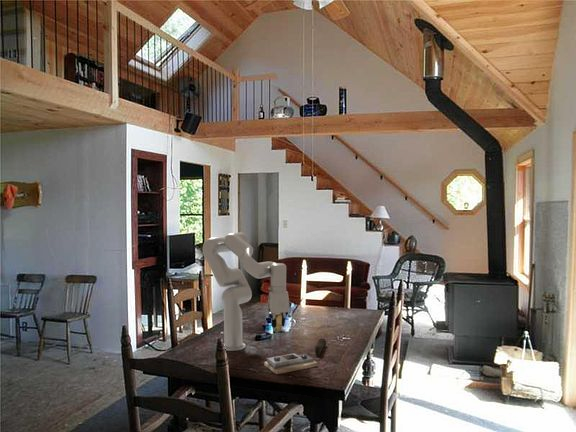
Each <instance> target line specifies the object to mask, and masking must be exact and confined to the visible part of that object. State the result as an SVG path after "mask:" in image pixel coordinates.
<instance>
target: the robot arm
mask: <svg viewBox="0 0 576 432" xmlns="http://www.w3.org/2000/svg"><path fill="white" fill-rule="evenodd" d="M249 243H250V239H249V236H248V235H247V234H246V233H244V232H231V233H228V234H226V235H225V236H215V237H214V236H213V237H210V238H207V239H205V241H204V243H203V244H202V256H203V257H204V259H205V261H206V263H207V264H208V266H209V268H210V271H211V272H212V275H213V276H214V278H215V281H216V283H217V284H218V286H219V287H221V288H226V289H225V290H223V292H222V294H221V301H222V307H223V334H224V335H223V337H224V339H223V342H224V343H223V344H224V346H225V349H226V350H225V351H227V352H234V351H235V352H237V351H242V350H245V348H246V343H244V342H243V311H242V308H241V307H240V305H242V304H245V303H248V302H249V301H251V299H252V296H253V294H252V293H253V292H252V288H251V286H250V284H249V282H248V280H247V278H246V276H245V275H244V272H243V271H242V270H241V269H239V268H237V267H229V266H228V265H227V263H226V261H225V258H224V257H222V256H221V255H220V254H219V253H225V252H226V253H227V252H231V253H233V254H234V255H235V256H236V257H237V258H239V259H240V261H241V265H242V267H243V269H244V270H245V272H247V273H248V274H249V275H251V276H252V277H253V278H255V279H264V278H269V277H270V286H268V288H267V289H268V290H269V293H268V297H267V308H266V310H265V311H264V314H265V315H266V316H268V317H269V318H270V325H271V327H272V328H273V329H274V328H275V327H276V320H275V314H276V313H281V314H282V328H283V327H285V324H286V318H287V316H288V315H289V314H290V313H291V312H292V309H291V306H290V298H289V292H288V291H287V265H286V264H285V263H283V262H281V263H280V262H274V261H262V262H257V261H256V260H255V258H253V257H252V256H253V253H254V247H253V246H252V245H251V244H249Z"/></svg>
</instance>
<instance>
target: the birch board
mask: <svg viewBox="0 0 576 432" xmlns="http://www.w3.org/2000/svg"><path fill="white" fill-rule="evenodd" d="M263 365H264V366H265V367H266V368H267V369H269V371H271V372H273V373H274V374H275V375H280V374H286V373H290V372H294V371H299V370H304V369H310V368H315V367H318V361H315V360H314V361H313V362H308V363H303V364H298V365H293V366H288V367H282V368H277V369H274V368H273V367H272V366H270V365H269V364H268V363H267V360H266V361H264V362H263Z"/></svg>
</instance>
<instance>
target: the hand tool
mask: <svg viewBox="0 0 576 432" xmlns="http://www.w3.org/2000/svg"><path fill="white" fill-rule="evenodd" d="M326 345H327V341H326V339H325V338H319V339H318V342H316V345H315V346H314V347H315V348H314V353H315V354H314V355H315V357H319V356H320V355H321V354H322V353H321V352H322V350H323V349H324V347H325V346H326Z"/></svg>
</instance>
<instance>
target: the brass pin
mask: <svg viewBox="0 0 576 432" xmlns="http://www.w3.org/2000/svg"><path fill="white" fill-rule="evenodd" d="M275 320H276V327H275V328H274V327H273V331H274V332H276V333H278V332H279V333H280V332H282V331H283V326H282V314H281V313H276V314H275Z"/></svg>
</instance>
